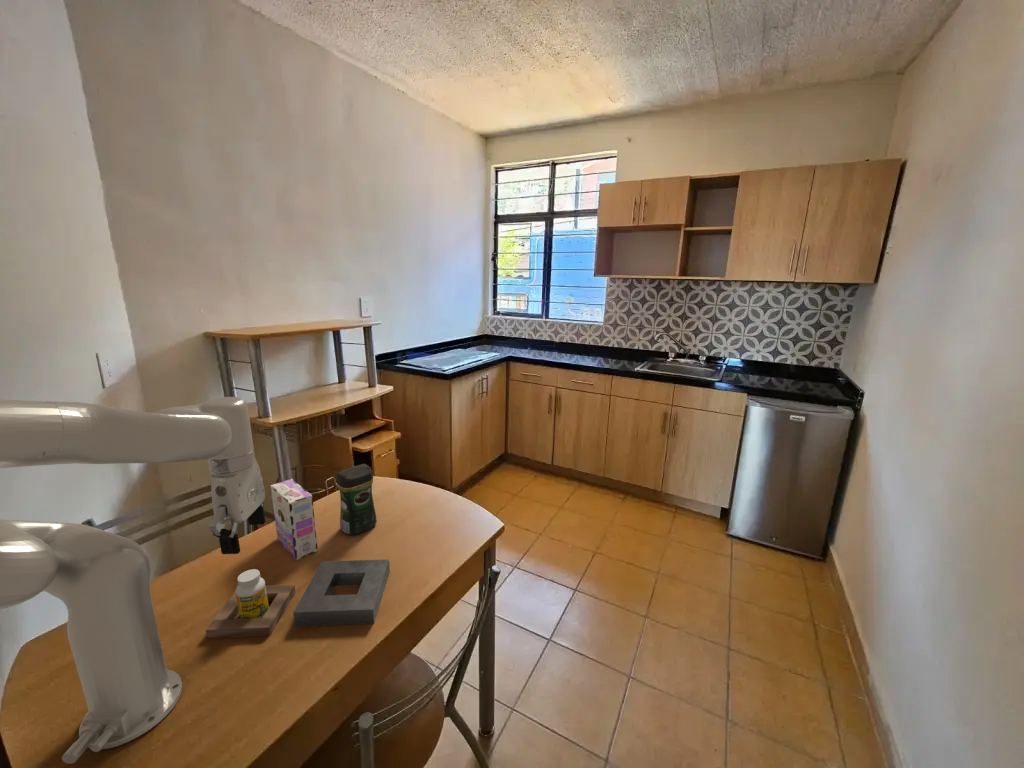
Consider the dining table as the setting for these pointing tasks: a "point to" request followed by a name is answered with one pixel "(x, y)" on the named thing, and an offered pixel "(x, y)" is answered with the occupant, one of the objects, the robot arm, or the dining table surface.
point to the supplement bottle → (251, 595)
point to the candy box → (294, 518)
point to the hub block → (343, 609)
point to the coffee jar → (356, 499)
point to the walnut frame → (253, 626)
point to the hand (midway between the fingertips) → (245, 537)
